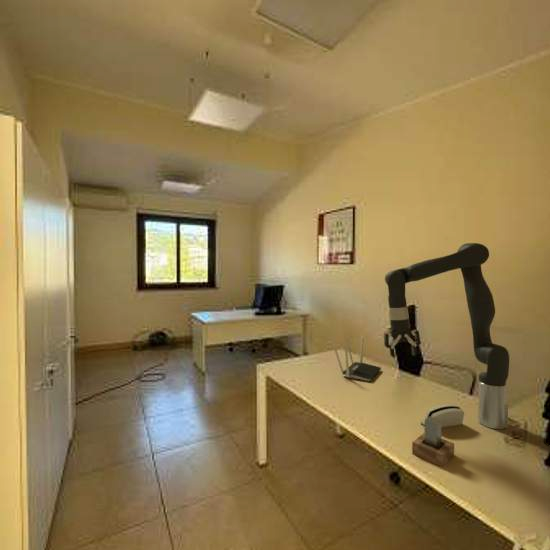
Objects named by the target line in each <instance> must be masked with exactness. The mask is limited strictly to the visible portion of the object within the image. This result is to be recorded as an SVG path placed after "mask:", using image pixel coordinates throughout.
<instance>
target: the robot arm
mask: <svg viewBox="0 0 550 550" xmlns="http://www.w3.org/2000/svg"><path fill="white" fill-rule="evenodd" d="M489 257H490V251H489V248H488V247H487V246H485V245H484V244H482V243H480V242H479V243H477V242H471V243H468V242H467V243H464V244H461V245H460V247H459V248H458V249H457V252H454V253H451V254H448V255H444V256H440V257H434V258H431V259H427V260H423V261H420V262H416V263H413V264H411V265H409V266H406V267H402V268H401V267H400V268H398V269H394V270H390V271H388V272H386V274H385V276H384V281H385V284H386V285H387V290H388V298H387V299H388V300H387V301H388V307H389V308H388V309H389V311H388V312H389V317H388V318H389V321H390V322H389V323H390V332H389V333H388V332H384V333H383V341H384V342H383V343H384V345H383V346H384V347H385V348H387V349H389V354H390V356H391V357H392V359H395V358H396V353H395V349H394V348H395V346H396V345H397V344H398V343H407V342H408V343H409V344H410V345H411V346H410V347H411V354H412V356H416V355H417V354H418V349H417V347H418V346H420V345H421V344H422V341H421V336H420V332H419V330H418V329H413V330H412V329H411V324H410V317H409V310H408V306H407V305H408V304H407V297H406V284H408V283H412V282H419V281H421V280H425V279H427V278H430V277H434V276H437V275H440V274H443V273H447V272H450V271H454V270H459V269H460V271H461V274H462V277H463V278H462V279H463V285H464V292H465V297H466V303H467V309H468V313H469V319H470V323H471V330H472V340H473V341H472V342H473V353H474V356H475V358H476V359H477V361H479V363H482V364H484V365H486V366H487V367H486V372H485V371H483V372H480V373H479V374H478V413H477V414H478V416H477V417H478V423H479V424H481V425H482V426H484V427H487V428H489V429H493V430H503V429H509V404H508V403H507V399H506V397H507V395H506V393H507V391H506V390H507V380H508V378H509V374H510V373H509V372H510V353H509V350H508V349H507V347H504V346H503V345H499V344H496V343H493V341H492V337H491V331H490V330H491V325H492V323H493V321H494V318H495V315H496V305H495V301H494V296H493V294H492V292H491V290H490V287H489V285H488V284H487V282H486V280H485V277H484V275H483V271H482V265H483V264H485V263H486V262H487V261H488V259H489ZM412 336H414V340H413V339H412V338H411V337H412ZM391 337H392V339H391V342H390V338H391Z"/></svg>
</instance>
